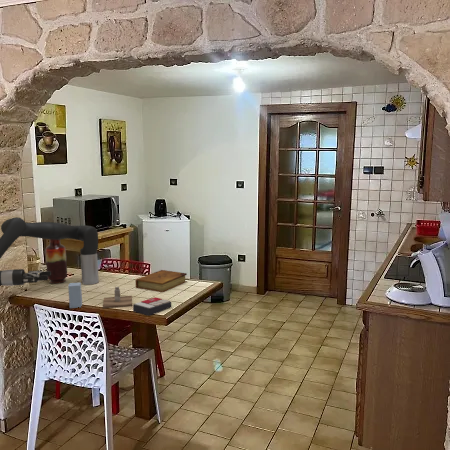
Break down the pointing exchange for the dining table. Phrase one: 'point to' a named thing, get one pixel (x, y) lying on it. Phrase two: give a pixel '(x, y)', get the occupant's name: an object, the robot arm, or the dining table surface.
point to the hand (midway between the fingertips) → (49, 275)
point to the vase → (56, 261)
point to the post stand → (117, 300)
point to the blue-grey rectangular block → (75, 295)
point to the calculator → (151, 306)
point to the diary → (161, 281)
